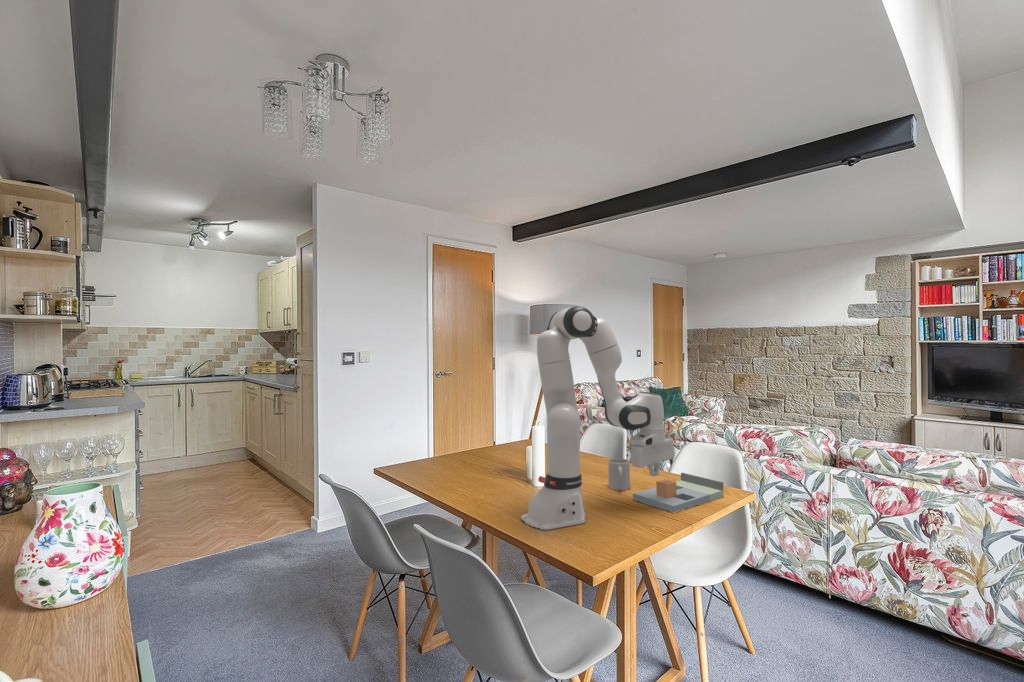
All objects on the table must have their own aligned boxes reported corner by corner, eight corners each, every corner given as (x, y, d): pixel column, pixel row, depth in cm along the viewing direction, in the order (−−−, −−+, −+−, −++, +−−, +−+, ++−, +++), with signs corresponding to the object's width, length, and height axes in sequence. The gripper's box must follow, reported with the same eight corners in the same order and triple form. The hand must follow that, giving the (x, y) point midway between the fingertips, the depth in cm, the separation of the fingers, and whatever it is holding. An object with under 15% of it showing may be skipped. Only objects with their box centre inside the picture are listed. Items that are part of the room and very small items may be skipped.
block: (667, 498, 173) (667, 484, 173) (656, 494, 177) (656, 481, 177) (676, 495, 176) (676, 482, 176) (665, 492, 180) (664, 479, 180)
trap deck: (673, 513, 164) (673, 497, 164) (632, 500, 179) (632, 485, 179) (723, 496, 181) (723, 482, 181) (682, 486, 196) (682, 472, 196)
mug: (607, 484, 200) (607, 458, 200) (628, 484, 199) (628, 458, 199) (610, 493, 188) (609, 465, 188) (632, 493, 187) (631, 465, 187)
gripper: (663, 431, 181) (665, 468, 181) (626, 439, 169) (628, 479, 169) (677, 433, 176) (679, 471, 176) (640, 442, 164) (642, 482, 164)
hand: (654, 475), depth 172 cm, fingers closed
